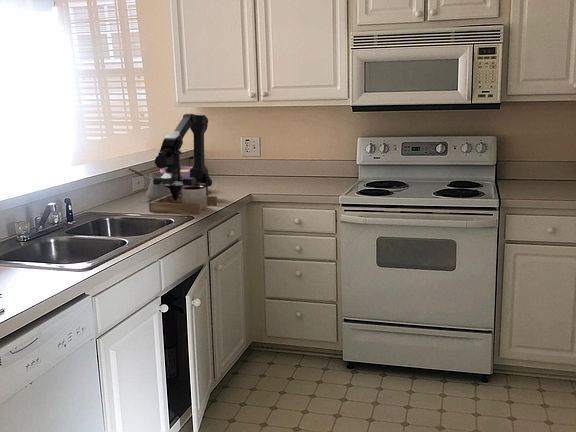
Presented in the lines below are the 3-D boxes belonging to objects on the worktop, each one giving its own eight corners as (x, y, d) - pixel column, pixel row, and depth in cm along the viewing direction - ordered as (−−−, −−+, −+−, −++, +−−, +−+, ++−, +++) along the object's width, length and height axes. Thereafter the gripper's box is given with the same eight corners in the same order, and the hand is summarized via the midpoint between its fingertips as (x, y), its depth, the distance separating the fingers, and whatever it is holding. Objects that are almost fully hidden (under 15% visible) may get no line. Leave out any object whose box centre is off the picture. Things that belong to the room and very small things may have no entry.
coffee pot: (175, 198, 306) (173, 167, 303) (164, 202, 295) (162, 170, 292) (135, 196, 312) (133, 166, 309) (123, 201, 301) (121, 169, 298)
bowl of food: (203, 193, 318) (202, 170, 316) (163, 196, 313) (162, 172, 310) (197, 187, 337) (196, 165, 335) (159, 189, 331) (157, 167, 329)
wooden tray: (170, 203, 294) (169, 194, 293) (217, 205, 288) (216, 196, 287) (149, 211, 275) (148, 202, 275) (199, 214, 269) (198, 204, 268)
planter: (195, 205, 288) (194, 184, 286) (212, 208, 281) (211, 187, 279) (177, 209, 279) (176, 188, 277) (194, 212, 273) (193, 190, 271)
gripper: (145, 167, 274) (147, 202, 277) (184, 168, 268) (186, 204, 272) (157, 164, 284) (159, 198, 287) (196, 164, 279) (197, 199, 282)
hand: (175, 200), depth 282 cm, fingers closed
